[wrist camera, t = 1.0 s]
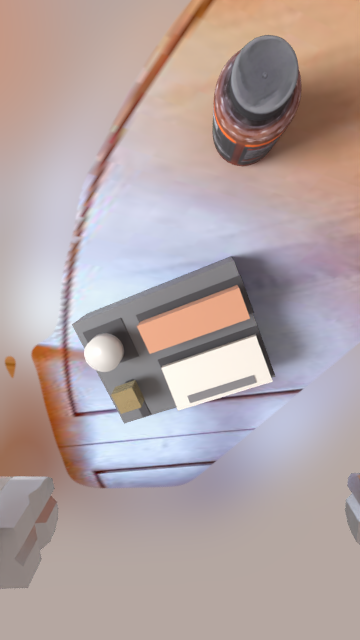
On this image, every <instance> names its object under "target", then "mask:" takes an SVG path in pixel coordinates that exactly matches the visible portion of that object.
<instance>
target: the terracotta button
mask: <svg viewBox="0 0 360 640" xmlns="http://www.w3.org/2000/svg"><path fill="white" fill-rule="evenodd" d="M247 319H250V317H249V314H248V311H247V308H246V306H245V303H244V300H243V297H242V295H241V292H240V289H239V287H238V285H236V286H233V287H231V288H228V289H225V290H223V291H220V292H217V293H215V294H212V295H210V296H207V297H204V298H202V299H199V300H196V301H194V302H191V303H188V304H186V305H183V306H180V307H178V308H175V309H173V310H170V311H167V312H165V313H162V314H159V315H157V316H154V317H151V318H149V319H146V320H143V321H141V322H140V323H139V324H138V325H137V328H138V330H139V332H140V334H141V336H142V338H143V341H144V343H145V345H146V347H147V349H148V351H149V353H150V354H151V353H154V352H157V351H160V350H163V349H165V348H168V347H171V346H174V345H177V344H180V343H182V342H185V341H188V340H191V339H194V338H197V337H199V336H202V335H205V334H208V333H211V332H214V331H216V330H219V329H222V328H225V327H228V326H230V325H233V324H236V323H239V322H242V321H245V320H247Z"/></svg>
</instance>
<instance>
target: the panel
mask: <svg viewBox="0 0 360 640" xmlns="http://www.w3.org/2000/svg"><path fill="white" fill-rule="evenodd" d="M236 285H238V287H239V289H240V292H241V295H242V297H243V300H244V303H245V306H246V308H247V311H248V314H249V317H250V319H247V320H245V321H242V322H239V323H236V324H233V325H230V326H228V327H225V328H222V329H219V330H216V331H214V332H211V333H208V334H205V335H202V336H199V337H197V338H194V339H191V340H188V341H185V342H182V343H180V344H177V345H174V346H171V347H168V348H165V349H163V350H160V351H157V352H154V353H151V354H150V353H149V351H148V349H147V347H146V345H145V343H144V341H143V338H142V336H141V334H140V332H139V330H138V328H137V325H138V324H139V323H140V322H141V321H143V320H146V319H149V318H151V317H154V316H157V315H159V314H162V313H165V312H167V311H170V310H173V309H175V308H178V307H180V306H183V305H186V304H188V303H191V302H194V301H196V300H199V299H202V298H204V297H207V296H210V295H212V294H215V293H217V292H220V291H223V290H225V289H228V288H231V287H233V286H236ZM253 313H254V312H253V309H252V306H251V304H250V301H249V298H248V295H247V292H246V289H245V287H244V284H243V281H242V278H241V275H239V273H238V270H237V268H236V265H235V262H234V260H233V259H232V257H228V258H226V259H223V260H221V261H218V262H216V263H213V264H211V265H208V266H206V267H203V268H201V269H198V270H196V271H193V272H191V273H188V274H186V275H183V276H181V277H178V278H176V279H173V280H171V281H168V282H166V283H163V284H161V285H158V286H156V287H153V288H151V289H148V290H146V291H143V292H141V293H138V294H136V295H133V296H131V297H128V298H126V299H123V300H121V301H118V302H116V303H113V304H110V305H108V306H105V307H103V308H100V309H98V310H95V311H93V312H90V313H88V314H86V315H85V316H83V317H82V318H80V319H79V320H78V321H76V322H75V323H74V324H72V326H73V327H74V329H75V331H76V333H77V335H78V337H79V339H80V341H81V343H82V344H83V346H84V348H85V347H86V345H87V344H88V343H89V342H90V341H91V340H92V339H93V338H94V337H95V336H96V335H98V334H102V333H108V334H112V335H114V336H116V337H117V338H118V339H119V340H120V341H121V343H122V345H123V347H124V355H123V358H122V359H121V361H120V363H119V364H118V366H117V367H116V368H115V369H113V370H111V371H108V372H100V371H97V370H96V371H97V373H98V375H99V377H100V378H101V380H102V382H103V384H104V386H105V388H106V390H107V392H108V394H109V395H110V397H111V399H112V401H113V403H114V405H115V407H116V409H117V411H118V412H119V414H120V416H121V418H122V420H123V422H124V423H127V422H130V421H133V420H137V419H140V418H143V417H146V416H150V415H153V414H156V413H159V412H162V411H166V410H169V409H172V408H175V407H177V406H176V404H175V401H174V399H173V396H172V394H171V391H170V389H169V386H168V384H167V381H166V379H165V376H164V374H163V371H162V369H161V368H162V366H164V365H167V364H170V363H173V362H175V361H178V360H181V359H184V358H187V357H190V356H193V355H196V354H199V353H202V352H205V351H208V350H211V349H213V348H216V347H219V346H222V345H225V344H228V343H231V342H234V341H237V340H240V339H243V338H246V337H249V336H252V335H254V334H255V335H256V337H257V340H258V343H259V346H260V348H261V351H262V354H263V356H264V359H265V362H266V365H267V367H268V370H269V373H270V375H271V378H272V377H275V374H274V371H273V368H272V366H271V363H270V360H269V357H268V354H267V352H266V349H265V346H264V343H263V340H262V337H261V335H260V332H259V329H258V326H257V324H256V321H255V318H254V315H253ZM134 380H136V382H137V384H138V386H139V388H140V390H141V392H142V394H143V396H144V398H145V399H144V402H143V405H142V407H141V408H138V409H135V410H132V411H129V412H125V413H122V414H121V413H120V411H119V409H118V407H117V405H116V403H115V402H114V400H113V398H112V396H111V394H112V392H113V390H114V389H115V387H117V386H119V385H122V384H125V383H128V382H131V381H134Z"/></svg>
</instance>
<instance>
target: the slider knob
mask: <svg viewBox="0 0 360 640" xmlns="http://www.w3.org/2000/svg"><path fill="white" fill-rule="evenodd" d="M111 396H112V398H113V400H114V402H115V403H116V405H117V407H118V409H119V411H120V413H121V414H122V413H125V412H129V411H132V410H135V409H138V408H141V407H142V405H143V402H144V399H145V398H144V396H143V394H142V392H141V390H140V388H139V386H138V384H137V382H136V380H134V381H131V382H128V383H125V384H122V385H119V386H117V387H115V389H114V390H113V392H112V394H111Z"/></svg>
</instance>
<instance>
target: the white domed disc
mask: <svg viewBox="0 0 360 640" xmlns="http://www.w3.org/2000/svg"><path fill="white" fill-rule="evenodd" d="M123 355H124V347H123V345H122V343H121V341H120V340H119V339H118V338H117V337H116V336H114V335H112V334H108V333H102V334H98V335H96V336H95V337H94V338H93V339H92V340H91V341H90V342H89V343H88V344H87V345H86V347H85V350H84V356H85V359H86V361H87V363H88V364H89V365H90V366H91V367H92V368H93V369H95V370H97V371H100V372H108V371H111V370H113V369H115V368H116V367H117V366H118V364H119V363H120V361H121V359H122V358H123Z"/></svg>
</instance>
